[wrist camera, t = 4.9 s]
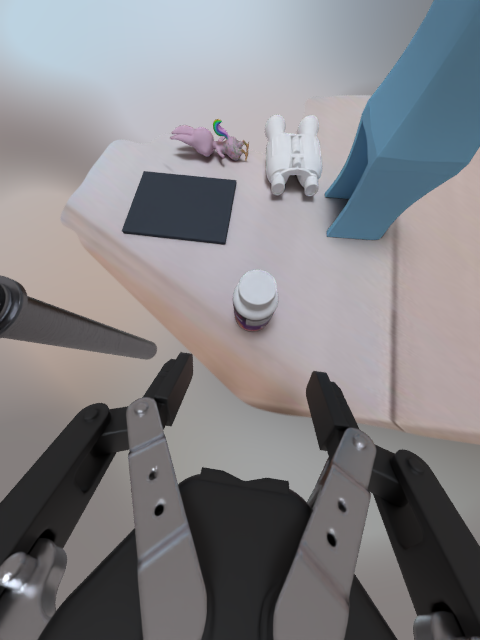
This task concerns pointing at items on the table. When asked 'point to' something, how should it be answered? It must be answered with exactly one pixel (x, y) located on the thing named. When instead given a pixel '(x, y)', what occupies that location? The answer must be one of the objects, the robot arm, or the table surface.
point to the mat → (181, 207)
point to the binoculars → (293, 154)
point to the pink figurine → (210, 140)
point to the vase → (414, 124)
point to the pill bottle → (255, 300)
